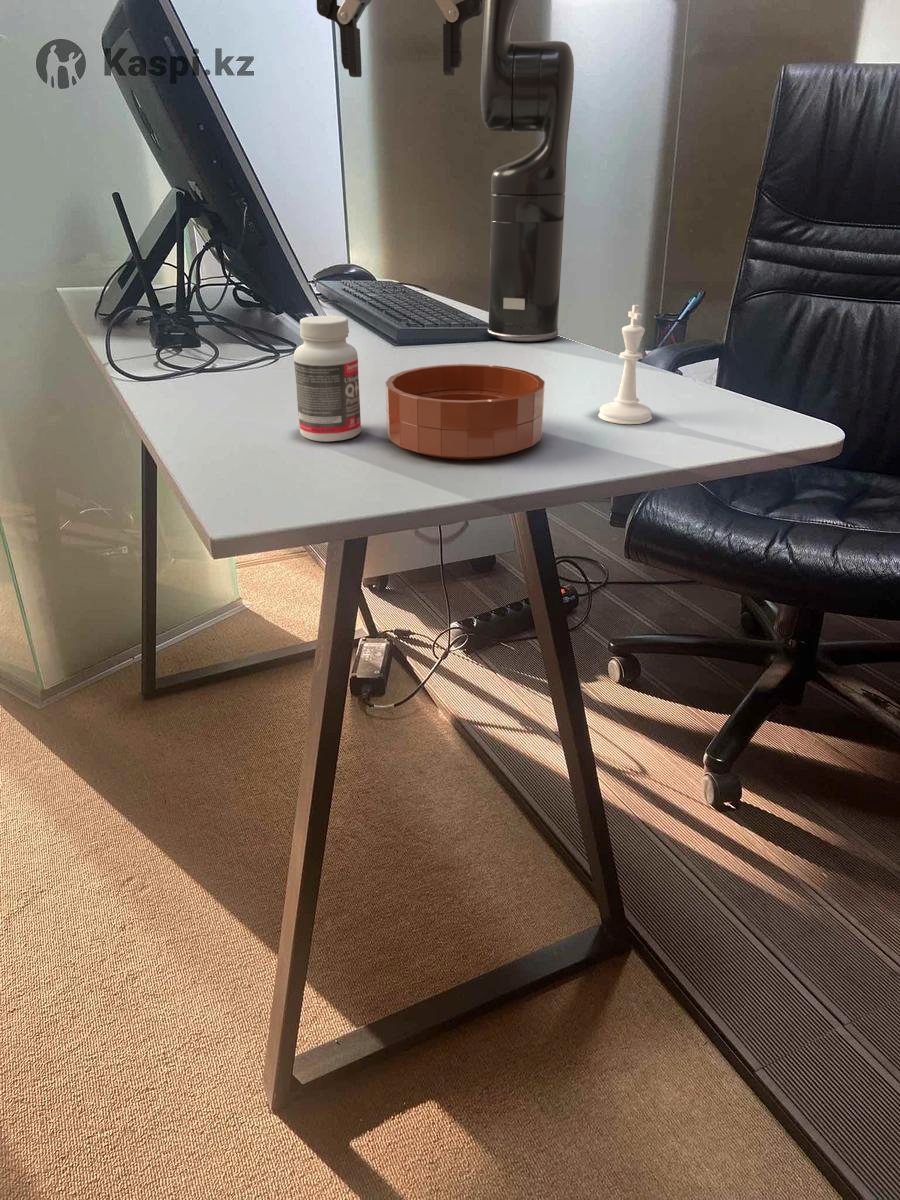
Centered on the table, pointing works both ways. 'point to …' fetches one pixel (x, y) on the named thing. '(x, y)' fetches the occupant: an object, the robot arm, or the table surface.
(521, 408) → the bowl
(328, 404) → the pill bottle
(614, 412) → the chess piece
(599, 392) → the table surface
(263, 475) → the table surface
